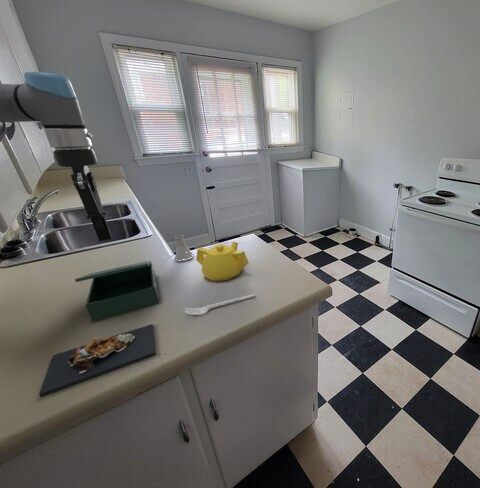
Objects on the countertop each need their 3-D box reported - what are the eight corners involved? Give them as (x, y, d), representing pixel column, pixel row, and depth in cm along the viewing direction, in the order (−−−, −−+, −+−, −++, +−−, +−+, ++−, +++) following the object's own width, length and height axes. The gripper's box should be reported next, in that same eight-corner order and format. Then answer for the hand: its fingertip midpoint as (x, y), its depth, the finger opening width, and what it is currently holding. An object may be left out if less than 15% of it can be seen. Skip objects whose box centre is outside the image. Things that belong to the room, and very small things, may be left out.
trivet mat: (40, 397, 54) (38, 394, 53) (54, 357, 63) (53, 355, 63) (155, 354, 64) (154, 352, 63) (153, 326, 73) (152, 323, 73)
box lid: (148, 266, 78) (147, 263, 78) (75, 282, 70) (74, 279, 70) (151, 262, 95) (151, 260, 95) (93, 275, 87) (93, 272, 87)
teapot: (261, 261, 108) (258, 235, 104) (240, 285, 92) (236, 256, 87) (215, 257, 112) (211, 232, 107) (187, 280, 95) (181, 251, 91)
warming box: (159, 302, 83) (154, 287, 81) (92, 321, 75) (85, 305, 73) (155, 276, 98) (151, 262, 95) (99, 289, 90) (93, 275, 87)
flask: (195, 259, 110) (190, 236, 106) (176, 264, 106) (170, 240, 103) (192, 253, 116) (187, 231, 112) (173, 257, 112) (168, 235, 108)
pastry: (139, 340, 67) (135, 328, 66) (81, 376, 57) (75, 364, 56) (123, 331, 70) (119, 320, 69) (65, 364, 60) (59, 352, 59)
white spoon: (256, 299, 84) (256, 294, 83) (186, 319, 76) (184, 313, 75) (254, 294, 87) (253, 289, 86) (185, 312, 78) (184, 307, 77)
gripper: (89, 149, 62) (121, 244, 71) (95, 146, 72) (123, 229, 81) (45, 150, 58) (84, 250, 67) (58, 147, 68) (91, 234, 77)
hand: (105, 239), depth 74 cm, fingers closed
